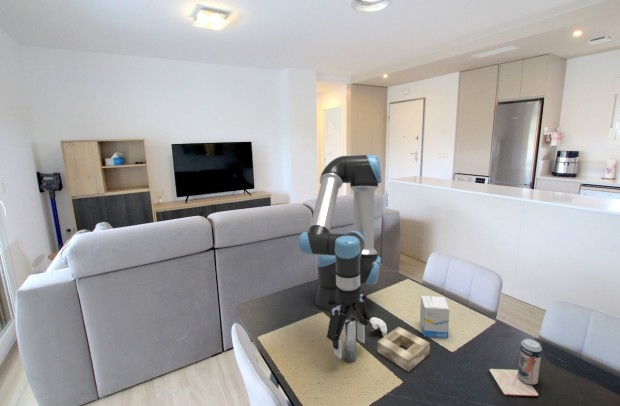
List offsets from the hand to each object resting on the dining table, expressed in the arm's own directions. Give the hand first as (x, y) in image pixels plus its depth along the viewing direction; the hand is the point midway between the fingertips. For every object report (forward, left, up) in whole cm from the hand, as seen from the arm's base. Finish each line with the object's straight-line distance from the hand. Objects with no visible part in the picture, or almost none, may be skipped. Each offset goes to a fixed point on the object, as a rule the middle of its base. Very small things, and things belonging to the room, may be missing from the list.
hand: (349, 348), depth 97 cm
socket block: (+10, +15, -4) cm, 18 cm away
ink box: (+10, +33, -4) cm, 35 cm away
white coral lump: (-2, +18, -4) cm, 18 cm away
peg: (0, 0, -4) cm, 4 cm away
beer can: (+40, +32, -4) cm, 51 cm away
